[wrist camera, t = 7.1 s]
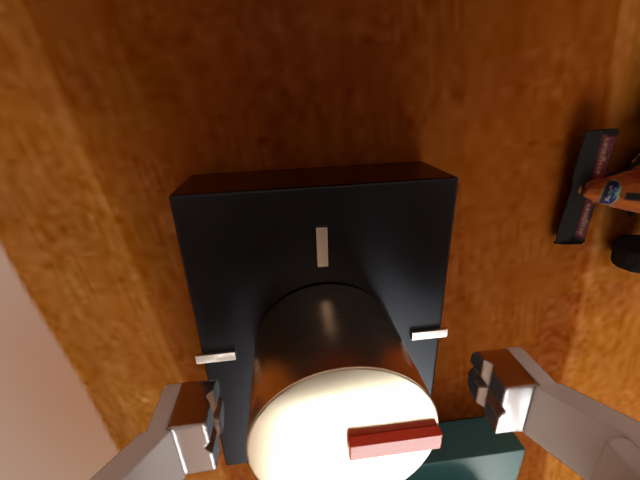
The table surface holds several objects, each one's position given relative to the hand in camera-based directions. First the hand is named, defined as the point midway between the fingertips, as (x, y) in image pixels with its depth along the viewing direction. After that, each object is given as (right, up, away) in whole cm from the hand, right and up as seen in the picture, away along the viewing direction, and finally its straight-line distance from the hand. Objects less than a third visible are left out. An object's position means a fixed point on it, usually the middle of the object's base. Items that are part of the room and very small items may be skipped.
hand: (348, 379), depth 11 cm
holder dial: (-1, +1, +2) cm, 2 cm away
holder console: (-1, +2, +5) cm, 5 cm away
